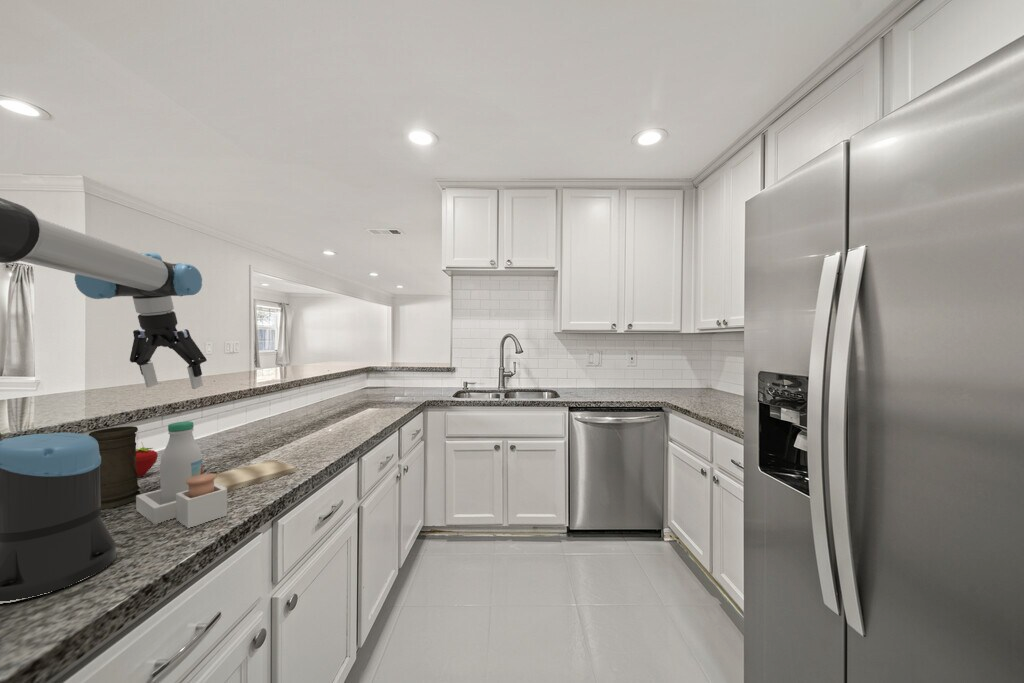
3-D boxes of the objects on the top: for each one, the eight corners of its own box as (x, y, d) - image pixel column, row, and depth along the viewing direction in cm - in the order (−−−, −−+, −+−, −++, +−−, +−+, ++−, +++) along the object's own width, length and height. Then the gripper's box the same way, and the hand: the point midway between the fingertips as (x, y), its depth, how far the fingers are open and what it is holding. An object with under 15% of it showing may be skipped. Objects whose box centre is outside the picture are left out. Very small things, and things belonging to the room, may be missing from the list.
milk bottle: (180, 514, 88) (178, 426, 88) (151, 512, 89) (149, 426, 89) (211, 500, 95) (209, 419, 95) (185, 499, 97) (183, 419, 97)
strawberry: (123, 477, 114) (122, 443, 114) (158, 470, 119) (157, 438, 119) (122, 482, 109) (121, 447, 109) (158, 475, 114) (157, 442, 114)
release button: (191, 509, 82) (191, 483, 82) (182, 504, 85) (182, 478, 85) (220, 500, 86) (220, 476, 86) (211, 496, 89) (210, 471, 89)
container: (107, 511, 90) (105, 434, 90) (78, 508, 92) (76, 433, 92) (150, 495, 99) (149, 426, 99) (123, 493, 101) (121, 425, 101)
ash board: (225, 492, 100) (225, 486, 100) (204, 482, 108) (204, 477, 108) (295, 472, 115) (295, 467, 115) (272, 464, 123) (272, 459, 123)
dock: (168, 535, 78) (167, 506, 78) (136, 510, 90) (135, 484, 90) (243, 510, 89) (242, 484, 89) (205, 491, 101) (205, 468, 101)
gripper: (212, 310, 106) (227, 382, 111) (127, 308, 107) (146, 380, 113) (187, 316, 98) (205, 393, 104) (97, 314, 100) (119, 390, 106)
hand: (175, 386), depth 109 cm, fingers open, 13 cm apart
